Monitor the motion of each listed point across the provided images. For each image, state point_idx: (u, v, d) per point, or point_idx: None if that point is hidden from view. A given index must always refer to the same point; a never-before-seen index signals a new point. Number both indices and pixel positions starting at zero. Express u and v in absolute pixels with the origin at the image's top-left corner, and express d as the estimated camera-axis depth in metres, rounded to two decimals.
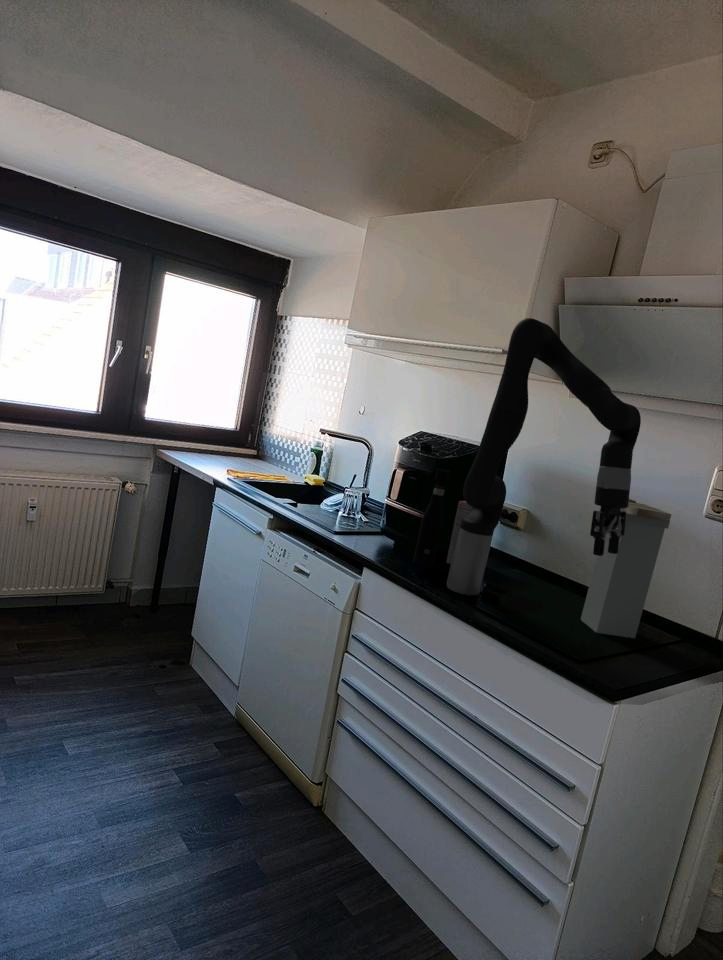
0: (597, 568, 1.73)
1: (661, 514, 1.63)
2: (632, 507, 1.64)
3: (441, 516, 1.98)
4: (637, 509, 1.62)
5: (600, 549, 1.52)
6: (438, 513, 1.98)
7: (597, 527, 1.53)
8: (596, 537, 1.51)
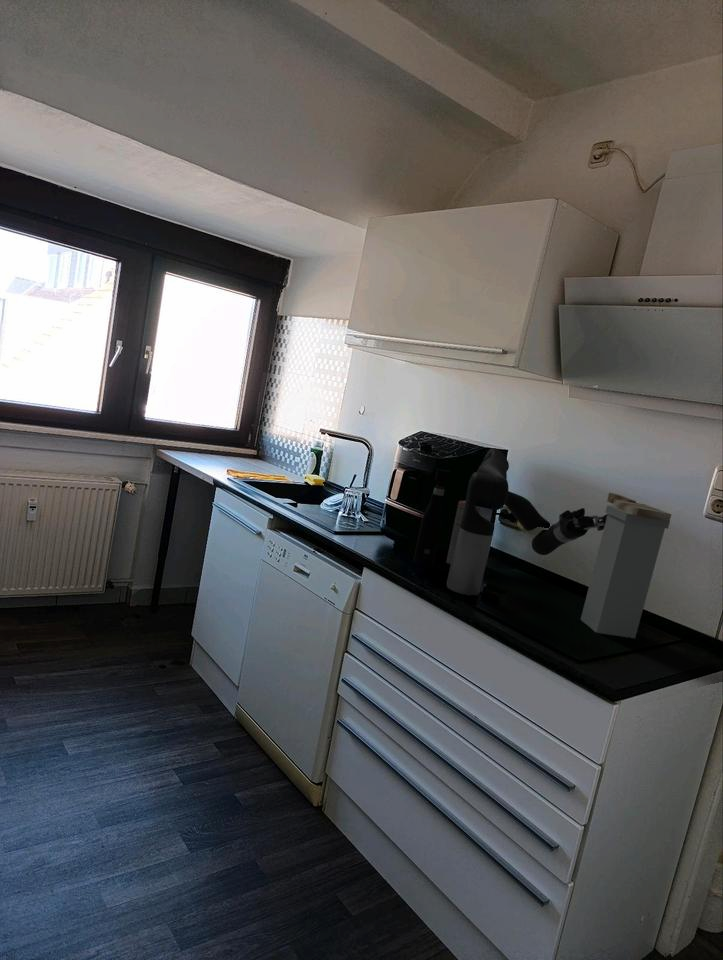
0: (597, 568, 1.73)
1: (661, 514, 1.63)
2: (632, 507, 1.64)
3: (441, 516, 1.98)
4: (637, 509, 1.62)
5: None
6: (438, 513, 1.98)
7: (573, 520, 1.94)
8: (570, 514, 1.92)
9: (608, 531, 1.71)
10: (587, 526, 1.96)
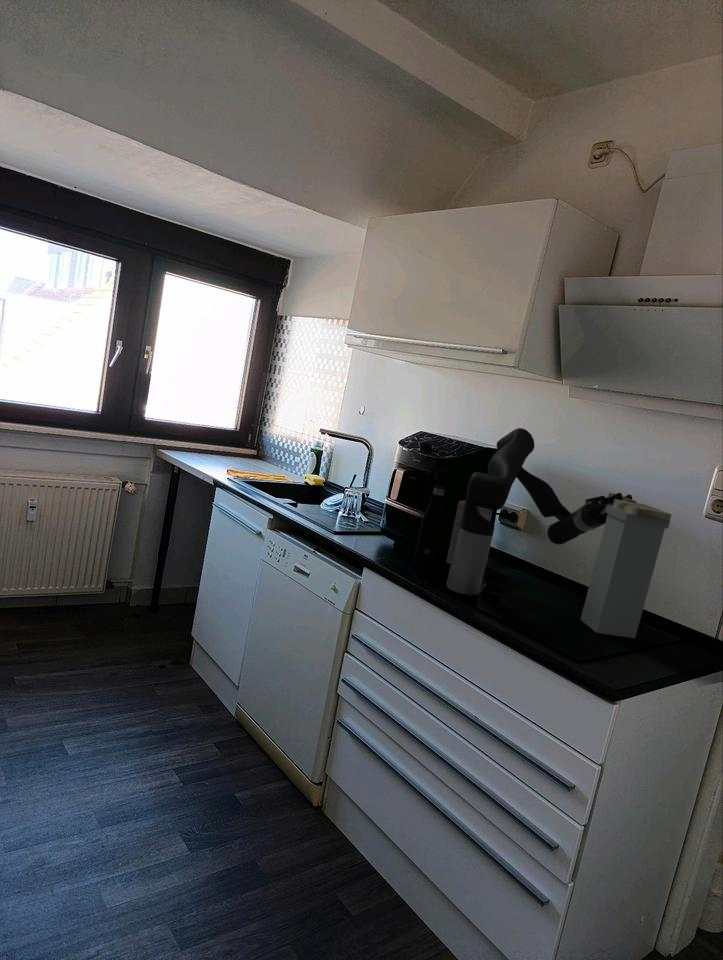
0: (597, 568, 1.73)
1: (661, 514, 1.63)
2: (632, 507, 1.64)
3: (441, 516, 1.98)
4: (637, 509, 1.62)
5: None
6: (438, 513, 1.98)
7: (604, 506, 1.81)
8: (605, 500, 1.80)
9: (608, 531, 1.71)
10: None
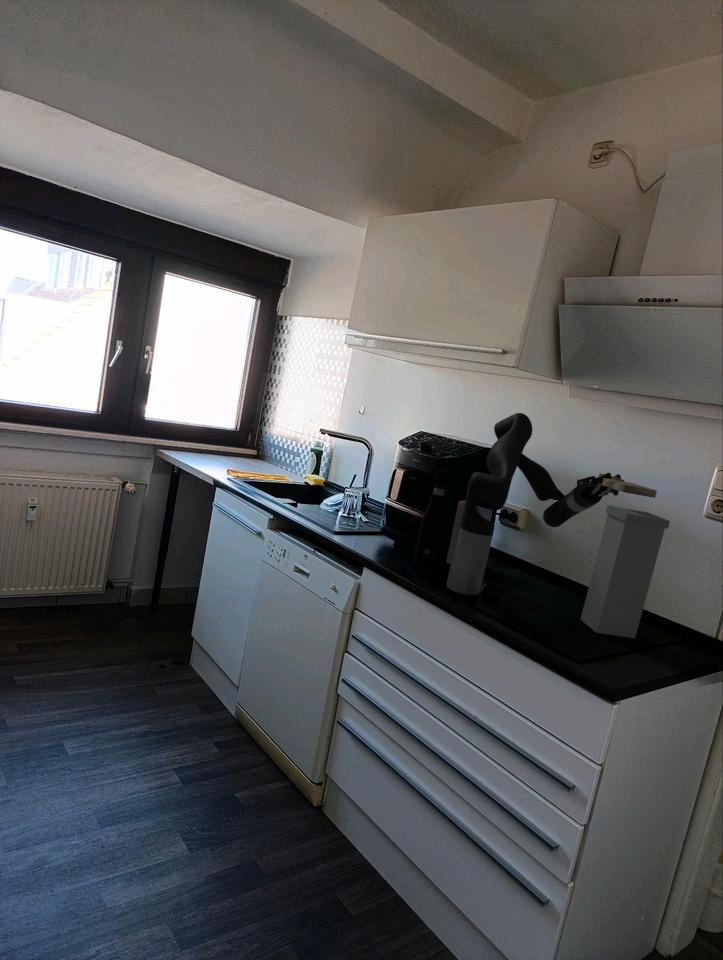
0: (597, 568, 1.73)
1: (647, 490, 1.71)
2: (619, 484, 1.73)
3: (441, 516, 1.98)
4: (624, 486, 1.71)
5: None
6: (438, 513, 1.98)
7: (595, 486, 1.90)
8: (595, 480, 1.88)
9: (608, 531, 1.71)
10: (600, 492, 1.93)
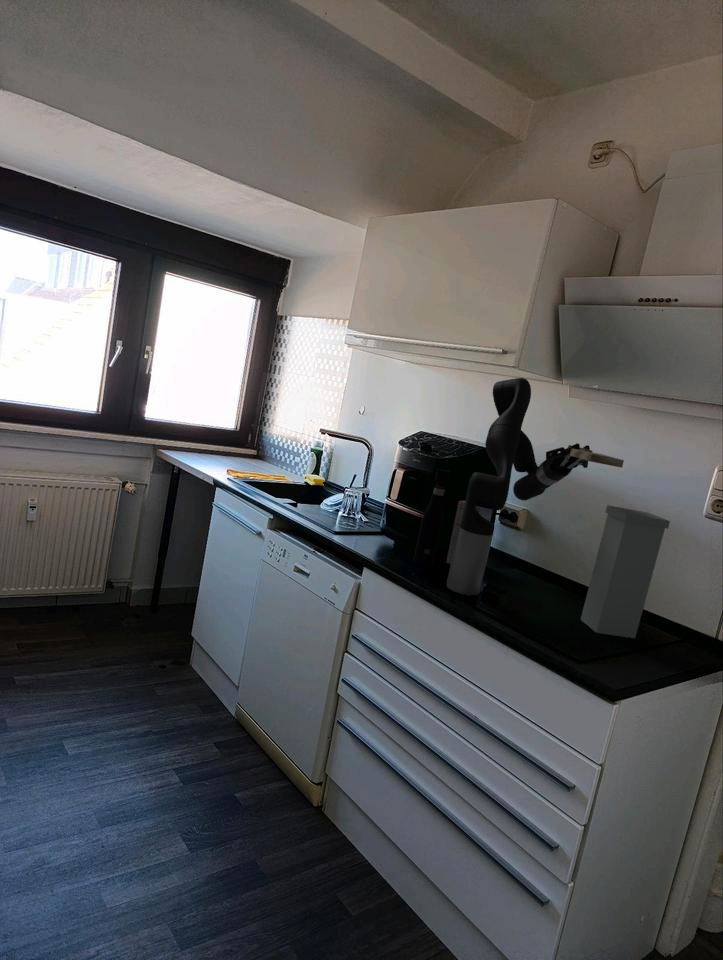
0: (597, 568, 1.73)
1: (614, 460, 1.69)
2: (586, 454, 1.71)
3: (441, 516, 1.98)
4: (591, 455, 1.68)
5: None
6: (438, 513, 1.98)
7: (564, 457, 1.88)
8: (564, 451, 1.86)
9: (608, 531, 1.71)
10: (569, 464, 1.90)
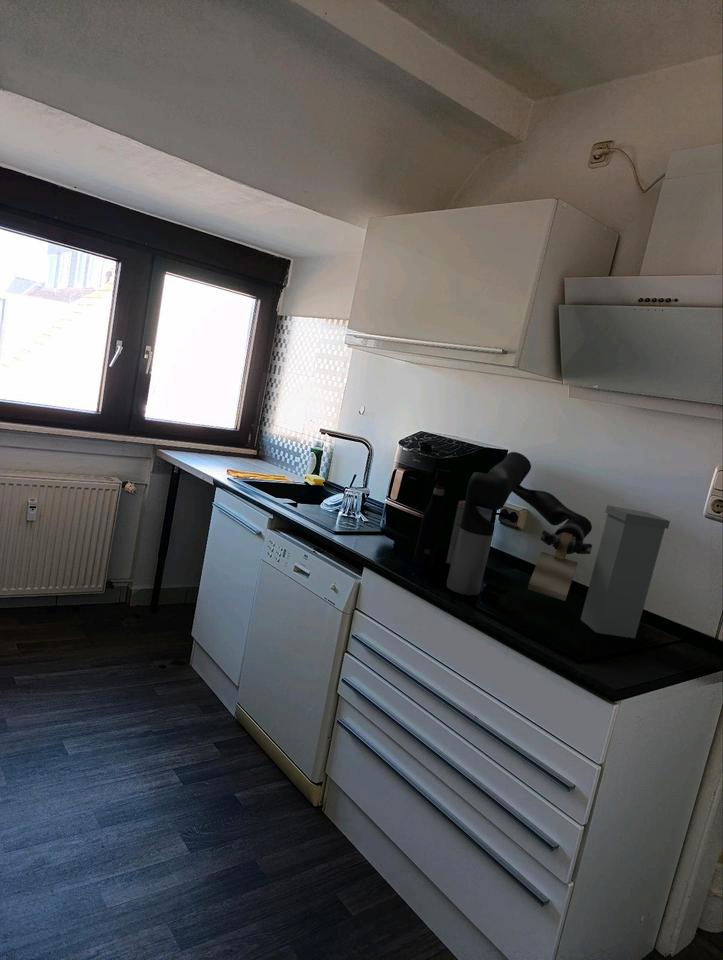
0: (597, 568, 1.73)
1: (555, 593, 1.55)
2: None
3: (441, 516, 1.98)
4: (529, 583, 1.57)
5: (555, 541, 1.67)
6: (438, 513, 1.98)
7: None
8: (551, 541, 1.70)
9: (608, 531, 1.71)
10: None
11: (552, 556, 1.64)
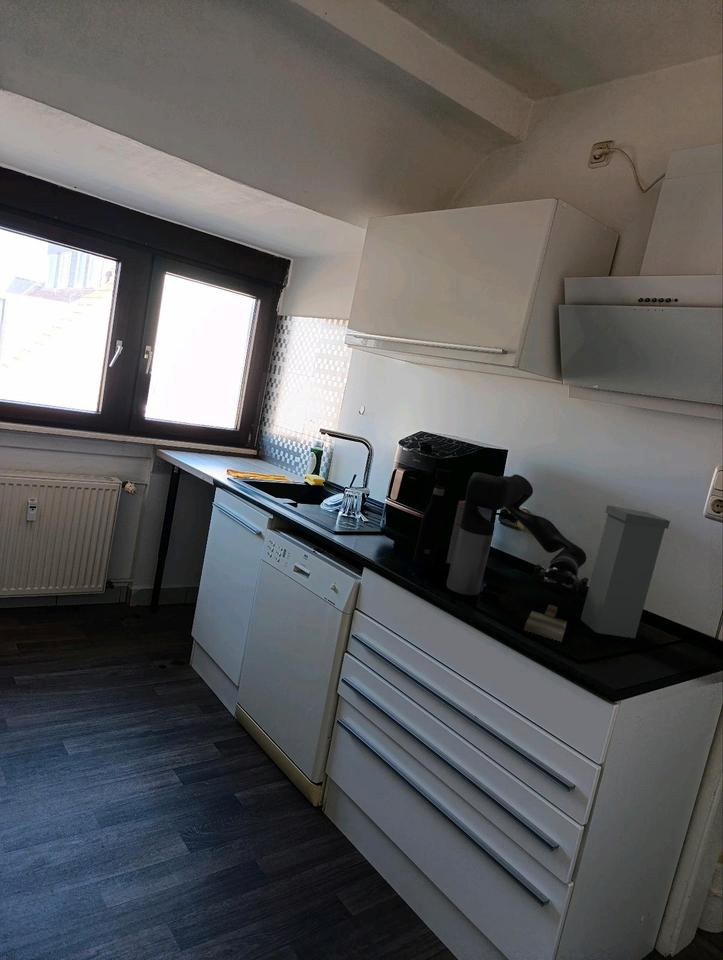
0: (597, 568, 1.73)
1: (551, 633, 1.56)
2: None
3: (441, 516, 1.98)
4: (525, 624, 1.59)
5: (540, 574, 1.68)
6: (438, 513, 1.98)
7: None
8: (536, 573, 1.71)
9: (608, 531, 1.71)
10: (564, 583, 1.73)
11: (543, 614, 1.68)
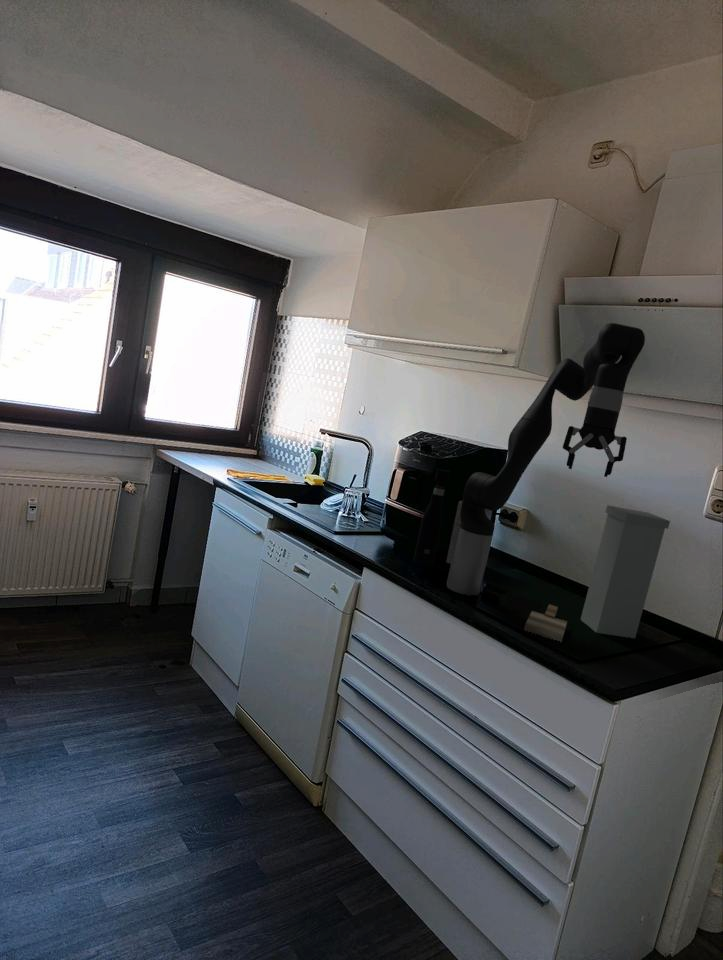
0: (597, 568, 1.73)
1: (551, 633, 1.56)
2: None
3: (441, 516, 1.98)
4: (525, 624, 1.59)
5: (568, 462, 1.62)
6: (438, 513, 1.98)
7: None
8: (566, 450, 1.63)
9: (608, 531, 1.71)
10: None
11: (543, 614, 1.68)
